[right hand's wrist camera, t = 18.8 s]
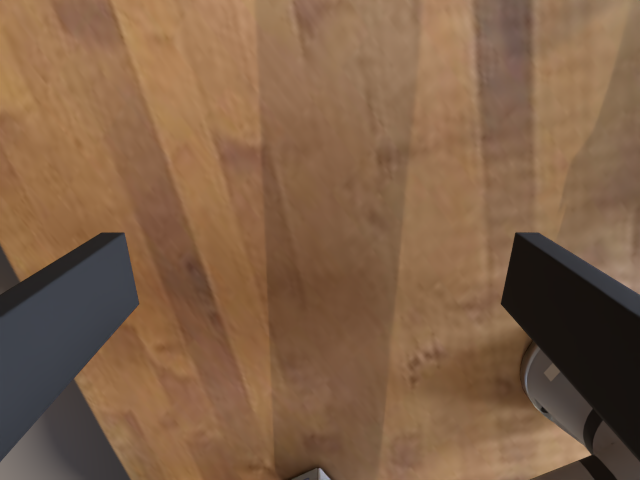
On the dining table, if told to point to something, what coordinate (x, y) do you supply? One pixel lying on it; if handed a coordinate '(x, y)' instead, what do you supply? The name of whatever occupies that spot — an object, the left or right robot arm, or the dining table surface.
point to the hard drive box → (313, 475)
